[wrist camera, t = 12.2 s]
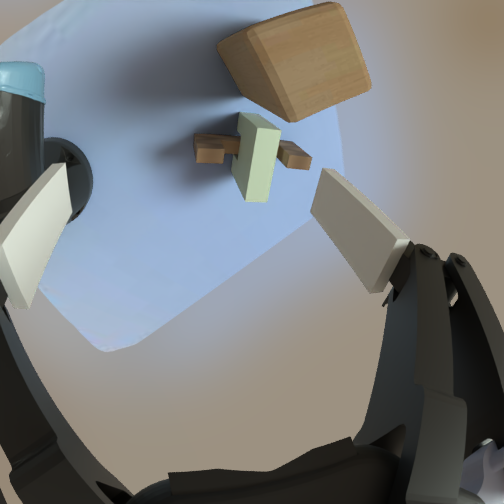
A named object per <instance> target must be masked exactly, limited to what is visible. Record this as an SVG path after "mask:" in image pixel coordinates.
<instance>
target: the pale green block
mask: <svg viewBox="0 0 504 504" xmlns="http://www.w3.org/2000/svg"><path fill="white" fill-rule="evenodd" d="M237 131H238V132H239V134H240V135H241V140H240V147H239V153H238V154H233V159H232V166H231V172H232V174H233V176H234V179H235V181H236V183H237V185H238V187H239V189H240V191H241V194H242V196H243V198H244V200H245V202H267V200H268V195H269V190H270V185H271V180H272V175H273V170H274V165H275V160H276V155H277V150H278V145H279V141H280V136H281V130H280V129H279V128H277V127H276V126H275V125H273V124H272V123H270V122H269V121H268V120H266V119H265V118H263V117H262V116H260V115H259V114H254V113H245V112H239V118H238V125H237Z"/></svg>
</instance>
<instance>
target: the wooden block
mask: <svg viewBox="0 0 504 504" xmlns="http://www.w3.org/2000/svg"><path fill="white" fill-rule="evenodd" d="M217 51H218V53H219V54H220V56H221V58H222V60H223V61H224V63H225V65H226V67H227V68H228V70H229V72H230V74H231V76H232V77H233V79H234V81H235V83H236V85H237V86H238V88H239V90H240V92H241V94H242V95H243V96H244V97H246V98H247V99H249V100H251V101H253V102H254V103H256V104H258V105H260V106H261V107H263V108H265V109H267V110H268V111H270V112H272V113H273V114H275V115H277V116H278V117H280V118H282V119H283V120H285V121H286V122H288V123H290V122H297V121H300V120H302V119H304V118H306V117H308V116H310V115H313V114H315V113H317V112H319V111H321V110H324V109H326V108H328V107H331V106H333V105H335V104H338V103H340V102H342V101H345V100H347V99H350V98H352V97H355V96H357V95H360V94H362V93H364V92H367V91H368V90H370V89H371V80H370V76H369V73H368V70H367V67H366V64H365V61H364V59H363V56H362V53H361V50H360V47H359V45H358V43H357V40H356V37H355V34H354V32H353V30H352V27H351V25H350V22H349V20H348V18H347V15H346V13H345V11H344V9H343V7H341V5H340V4H339V3H335V2H325V3H321V4H317V5H313V6H309V7H305V8H302V9H298V10H295V11H291V12H288V13H285V14H282V15H279V16H276V17H273V18H270V19H267V20H265V21H262V22H259V23H256V24H254V25H251V26H249V27H247V28H245V29H243V30H241V31H239V32H237V33H235V34H233V35H231V36H229V37H227V38H226V39H224V40H222V41H220V42H219V43H218V44H217Z"/></svg>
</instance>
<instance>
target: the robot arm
mask: <svg viewBox="0 0 504 504" xmlns="http://www.w3.org/2000/svg"><path fill="white" fill-rule="evenodd" d="M44 82H45V74H44V70H43V68H42V67H41V66H40V65H38V64H36V63H33V62H17V61H14V62H0V445H1V447H2V449H3V450H4V452H5V454H6V456H7V458H8V460H9V462H10V464H11V466H12V471H11V472H10V474H9V478H10V482H11V484H12V486H13V488H14V490H15V492H16V494H17V495H18V497H19V498H20V500H21V501H22V503H23V504H504V332H503V330H502V327H501V325H500V323H499V320H498V318H497V316H496V314H495V312H494V309H493V307H492V305H491V304H490V301H489V299H488V297H487V295H486V293H485V291H484V289H483V287H482V285H481V283H480V281H479V280H478V278H477V276H476V274H475V272H474V270H473V269H472V267H471V265H470V264H469V262H468V261H467V260H466V259H465V258H464V257H463V256H462V255H458V254H456V253H451V254H450V255H449V257H448V259H447V261H442V260H440V257H439V255H438V254H437V253H436V252H435V251H434V250H433V249H432V248H430V247H428V246H426V245H423V244H416V245H414V244H413V243H412V242H411V241H410V239H409V238H408V237H407V236H406V235H405V233H404V232H403V231H402V230H401V229H400V228H399V227H398V226H396V224H395V223H393V222H392V221H391V220H390V219H389V218H388V217H387V216H386V215H385V214H384V213H383V212H382V211H381V210H380V209H379V208H378V207H377V206H376V205H374V204H373V203H372V202H371V201H370V200H369V199H368V198H367V197H366V196H365V195H363V194H362V193H361V192H360V191H359V190H358V189H357V188H356V187H354V186H353V185H352V184H351V183H350V182H349V181H348V180H346V179H345V178H344V177H343V176H342V175H340V174H339V173H338V172H337V171H336V170H334V169H328V168H322V171H321V175H320V179H319V182H318V186H317V190H316V193H315V197H314V200H313V204H312V207H311V211H310V212H311V214H312V215H313V216H314V217H315V219H316V220H317V221H318V223H319V224H320V225H321V227H322V228H323V229H324V231H325V232H326V233H327V235H328V236H329V237H330V238H331V240H332V241H333V243H334V244H335V245H336V247H337V248H338V249H339V251H340V252H341V254H342V255H343V256H344V258H345V259H346V261H347V262H348V263H349V265H350V266H351V267H352V269H353V270H354V272H355V273H356V274H357V276H358V277H359V279H360V280H361V282H362V283H363V285H364V286H365V288H366V289H367V290H368V292H369V293H370V294H371V293H378V292H383V290H384V289H385V287H386V285H387V283H388V282H389V281H390V282H391V284H392V285H393V287H392V289H391V291H390V293H389V294H388V296H387V298H386V299H385V301H384V303H383V304H382V306H383V307H384V306H385V304H387V303H388V307H387V315H386V323H385V329H384V335H383V342H382V347H381V352H380V358H379V363H378V368H377V372H376V377H375V382H374V386H373V390H372V394H371V398H370V402H369V406H368V410H367V413H366V417H365V421H364V424H363V426H362V428H361V430H360V431H359V432H358V434H357V435H356V436H355V438H354V440H353V442H352V439H351V437H347V438H344V439H342V440H339V441H336V442H333V443H331V444H327V445H324V446H321V447H317V448H314V449H312V450H310V451H308V452H306V453H305V454H303V455H301V456H299V457H298V458H296V459H294V460H292V461H290V462H289V463H287V464H285V465H283V466H281V467H279V468H277V469H275V470H273V471H268V472H257V471H256V472H255V471H237V470H224V469H211V470H202V471H190V472H172V473H171V472H170V473H168V475H169V479H166V480H162V481H159V482H157V483H154V484H152V485H150V486H148V487H146V488H145V489H142V490H141V491H140V492H138V493H137V494H136V495H133V494H132V493H131V492H130V491H129V490H128V489H127V488H126V487H125V486H124V485H123V484H122V483H121V482H120V481H118V479H117V478H116V477H114V476H113V475H112V474H111V473H110V472H109V471H108V470H107V469H105V468H104V467H103V466H102V465H101V464H100V463H99V462H98V461H97V459H96V458H95V457H94V456H93V455H92V454H91V452H90V451H89V450H88V449H87V447H86V446H85V445H84V444H83V442H82V441H81V440H80V439H79V437H78V436H77V435H76V433H75V432H74V431H73V429H72V428H71V427H70V425H69V424H68V422H67V421H66V419H65V418H64V417H63V415H62V414H61V412H60V411H59V409H58V408H57V406H56V405H55V403H54V401H53V400H52V398H51V397H50V395H49V393H48V392H47V390H46V388H45V387H44V385H43V384H42V382H41V380H40V378H39V376H38V375H37V373H36V371H35V369H34V367H33V365H32V363H31V361H30V359H29V357H28V355H27V353H26V352H25V350H24V347H23V345H22V343H21V341H20V339H19V336H18V334H17V332H16V330H15V327H14V325H13V323H12V320H11V318H10V315H9V313H8V310H7V309H6V307H5V305H4V304H5V302H6V299H7V297H8V298H9V300H10V302H11V304H12V305H13V307H14V308H20V309H30V306H31V303H32V300H33V297H34V295H35V292H36V290H37V287H38V284H39V282H40V279H41V277H42V275H43V272H44V270H45V267H46V265H47V263H48V261H49V258H50V256H51V254H52V252H53V250H54V247H55V245H56V243H57V241H58V239H59V237H60V235H61V233H62V231H63V229H64V227H65V225H67V224H68V223H70V222H71V221H73V220H74V219H75V218H77V217H78V216H79V215H80V214H81V212H82V211H83V210H84V208H85V206H86V205H87V203H88V201H89V199H90V196H91V193H92V188H93V175H92V170H91V167H90V164H89V162H88V160H87V158H86V156H85V155H84V153H83V152H82V151H81V150H80V149H79V148H78V147H77V146H76V145H74V144H73V143H71V142H70V141H68V140H65V139H62V138H56V137H51V138H45V139H44V105H45V104H46V100H45V99H44ZM457 292H458V299H457V301H456V302H455V304H454V305H453V306H451V304H450V302H451V300H452V299H453V297H454V296H455V294H456V293H457ZM491 439H492V440H493V441H491ZM0 504H7V503H6V501H5V498H4V496H3V493H2V491H1V489H0Z"/></svg>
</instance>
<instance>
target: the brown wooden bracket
mask: <svg viewBox="0 0 504 504" xmlns="http://www.w3.org/2000/svg"><path fill="white" fill-rule="evenodd" d="M240 140H241V136H232V135H216V134H194V145H193V146H194V152H195V158H196V163H220V164H223V160H224V154H238V153H239V147H240ZM276 157H277V158H278V159H279V160H280V161H281V162H282V163H283V164H284V166H285V167H286V168H292V169H302V170H309V168H310V164H311V160H312V157H311V156H310V155H308V154H307V153H306V152H305V151H303V150H302V149H301V148H300V147H299V146H297V145H296V144H295V143H293V142H291V141H284V140H280V141H279V145H278V150H277V155H276Z"/></svg>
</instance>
